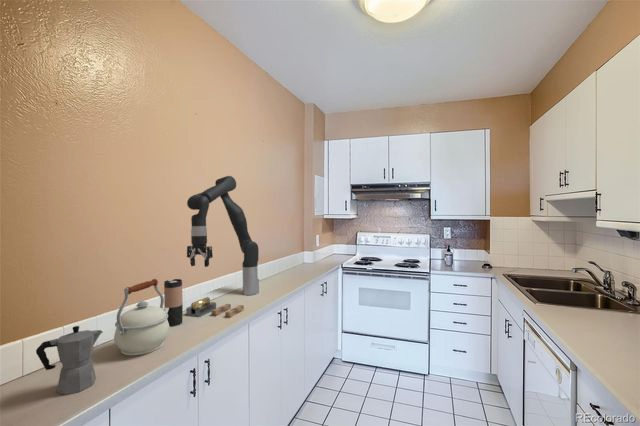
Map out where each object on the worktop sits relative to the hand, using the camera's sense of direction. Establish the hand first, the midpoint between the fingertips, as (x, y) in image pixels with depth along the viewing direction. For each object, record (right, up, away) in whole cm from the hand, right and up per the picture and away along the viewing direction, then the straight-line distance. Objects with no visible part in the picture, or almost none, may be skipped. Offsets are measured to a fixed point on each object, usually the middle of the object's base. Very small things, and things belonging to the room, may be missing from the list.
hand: (199, 266), depth 155 cm
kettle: (-6, -25, -38) cm, 45 cm away
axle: (0, -21, +1) cm, 21 cm away
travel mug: (-6, -24, -15) cm, 29 cm away
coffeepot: (-12, -25, -65) cm, 71 cm away
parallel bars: (+15, -24, -1) cm, 28 cm away
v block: (+1, -24, +1) cm, 24 cm away
